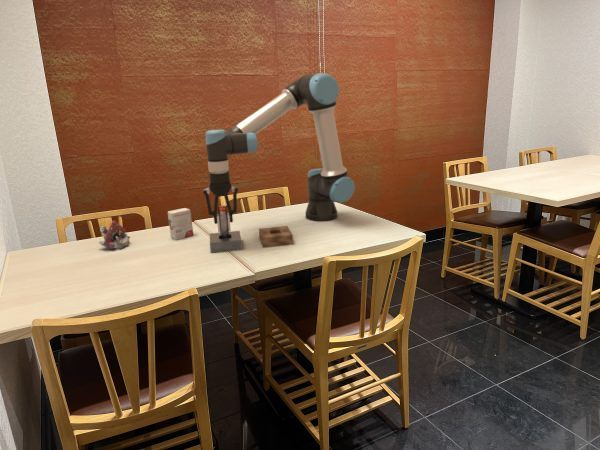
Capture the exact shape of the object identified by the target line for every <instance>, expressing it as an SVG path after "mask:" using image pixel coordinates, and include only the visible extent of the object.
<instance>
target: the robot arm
mask: <svg viewBox="0 0 600 450" xmlns="http://www.w3.org/2000/svg"><path fill="white" fill-rule="evenodd" d="M339 95H340V87H339V83H338V81H337V80H336V78H335V77H334V76H333V75H332V74H329V73H324V72H323V73H322V72H319V73H312V74H304V75H302V76H299V78H296V79H295V80H294V81H293V82H291V83H290V84H288V85H287V86H286V87H284V88H283V89H281V93H280V94H279V95H277V96H276V97H274V98H273V99H272V100H270V101H269V102H267V103H266V104H265V105H263V106H262V107H260V108H259V109H258V110H256V111H255V112H253V113H252V114H250V115H249V116H248V117H246V118H245V119H243V120H241V121H240V122H239V123H237V124H236V125H234V126H233V127H231V128H230V129H227V130H225V129H210V130H207V131H205V147H206V155H207V165H208V166H207V167H208V172H209V173H208V176H209V177H208V178H209V186H208V187H207V188H204V189H203V191H202V192H203V194H204V196H205V201H206V205H207V207H206V208H207V211H208V215H209V216H213V222H214V224H215V225H217V231H218V232H217V233H220V223H219V214H218V204H219V197H221V196H222V197H224V200H225V203H226V206H227V216H228V227H229V232H231V230H232V228H231V223H233V221H234V219H233V215H234V214H236V213H237V211H238V207H237V205H238V204H237V203H238V202H237V201H238V200H237V199H238V196H237V194H238V191H239V187H237V186H233V185H232V184H231V178H230V172H229V170H230V169H229V168H230V167H229V158H228V156H229V155H230V156H232V155H238V154H239V155H240V154H251V153H254V152H257V150H258V148H259V142H258V137H257V134H258V133H260V132H261V131H263V130H264V129H265V128H267V127H268V126H270V125H271V124H273V123H274V122H275V121H277V120H278V119H280V118H281V117H283V116H284V115H285V114H287V113H288V112H289V111H291V110H292V109H293V110H296V109H298V108H299V107H301V106H304V105H306V106H307V110H308V112H309V113H310V114H312V116H313V120H314V121H313V123H314V126H315V132H316V137H317V143H318V148H319V153H320V158H321V164H322V167H321V168H320V167H319V168H313V169H312V168H311V169H310V170H308V172H307V186H308V187H307V190H308V193H307V194H308V203H307V206H306V209H305V219H307V220H310V221H313V222H314V221H315V222H324V221H325V222H326V221H332V220H334V219H337V218H338V209H337V206H336V205H335V203H340V204H341V203H346V202H348V201H349V200H350V199H351V198H352V196H353V195H354V193H355V189H356V187H355V181H354V180H353V179H352V178H351V177H349V173H348V169H347V168H346V167H345V166H344V165H343V164H344V163H343V160H342V158H343V157H342V154H341V147H340V141H339V136H338V129H337V124H336V123H337V122H336V118H335V113H334V110H335V108H336V107H337V99H338V96H339ZM230 190H231V192H232V199H233V200H232V206H231V203H230V199H229V196H228V194H229V192H230ZM211 192H212V194H213V195H214V203H213V205H214V206H213V210H212V205H211V200H210V199H211V198H210V193H211ZM232 207H233V208H232Z"/></svg>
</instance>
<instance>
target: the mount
mask: <svg viewBox="0 0 600 450" xmlns="http://www.w3.org/2000/svg"><path fill="white" fill-rule="evenodd" d="M258 233H259V236H258V238H259V241H260V243H261V247H262V248H272V247H281V246H290V244H292V245H294V239H293V233H292V232H291V230H290V228H289V226H288V225H284V226H283V225H282V226H273V227H263V228H258Z"/></svg>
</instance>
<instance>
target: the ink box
mask: <svg viewBox="0 0 600 450" xmlns="http://www.w3.org/2000/svg"><path fill="white" fill-rule="evenodd" d="M167 218H168V224H169V225H168V227H169V233H170V238H171V239H173V240H175V241H177V240H181V239H184V238H188V237H192V236H194V228H193V219H192V212H191V209H189V208H186V207H184V208H183V207H182V208H178V209H174V210H169V211H167Z"/></svg>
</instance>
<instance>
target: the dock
mask: <svg viewBox="0 0 600 450" xmlns="http://www.w3.org/2000/svg"><path fill="white" fill-rule="evenodd" d="M229 237H230V238H227V239H221V235H220V232H212V233H209V248H210V254H214V253H224V252H233V250H235V251H242V250H243V243H242V236H241V232H240V230H232V231H229Z"/></svg>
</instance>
